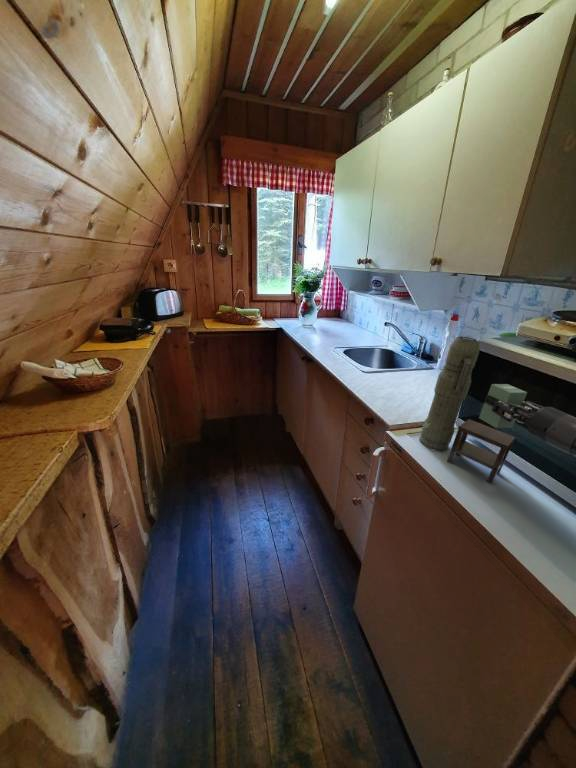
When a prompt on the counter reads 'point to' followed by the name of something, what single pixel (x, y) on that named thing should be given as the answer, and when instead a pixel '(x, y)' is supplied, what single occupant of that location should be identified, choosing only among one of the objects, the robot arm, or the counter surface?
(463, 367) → the stone statue
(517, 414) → the robot arm
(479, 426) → the rack
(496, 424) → the pale green box
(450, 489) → the counter surface
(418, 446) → the counter surface
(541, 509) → the counter surface
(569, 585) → the counter surface
